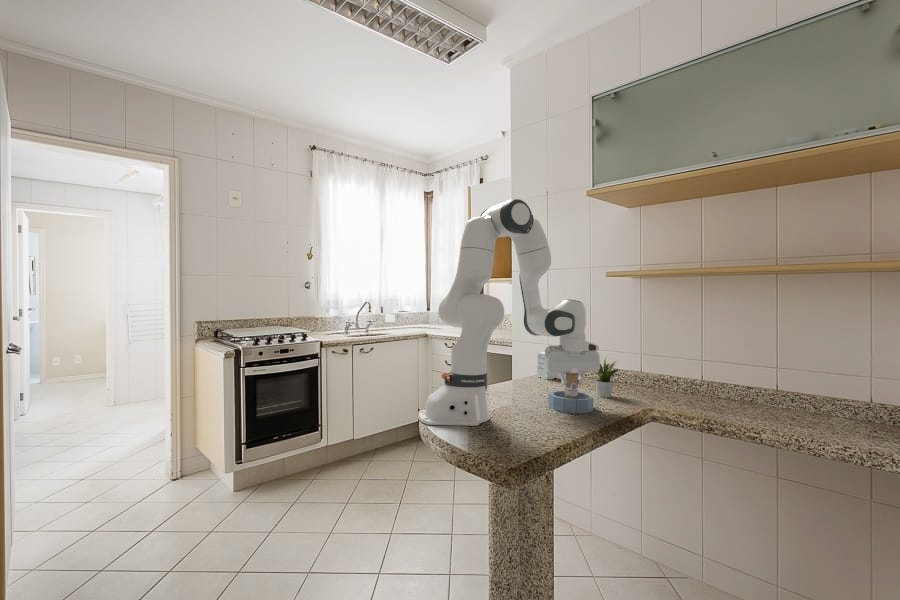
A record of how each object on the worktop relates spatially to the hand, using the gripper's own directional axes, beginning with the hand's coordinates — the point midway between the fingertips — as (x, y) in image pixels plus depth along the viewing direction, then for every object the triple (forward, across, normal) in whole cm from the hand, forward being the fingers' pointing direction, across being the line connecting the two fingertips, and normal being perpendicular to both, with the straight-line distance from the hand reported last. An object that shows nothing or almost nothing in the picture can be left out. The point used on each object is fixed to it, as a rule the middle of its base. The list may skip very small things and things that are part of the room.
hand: (571, 384), depth 149 cm
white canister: (+9, +18, +57) cm, 60 cm away
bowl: (+8, 0, 0) cm, 8 cm away
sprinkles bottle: (+8, 0, 0) cm, 8 cm away
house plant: (+9, +22, +16) cm, 28 cm away
